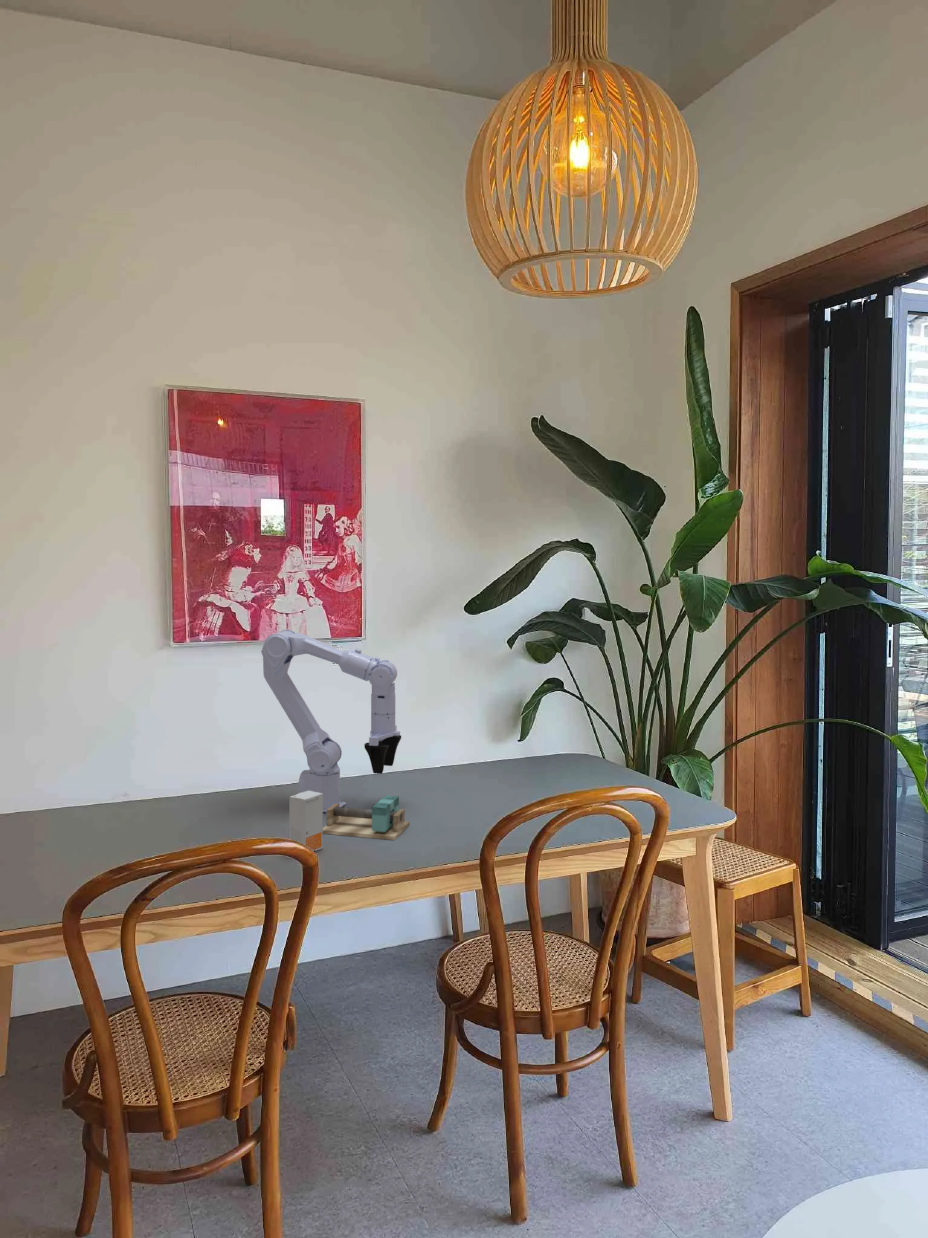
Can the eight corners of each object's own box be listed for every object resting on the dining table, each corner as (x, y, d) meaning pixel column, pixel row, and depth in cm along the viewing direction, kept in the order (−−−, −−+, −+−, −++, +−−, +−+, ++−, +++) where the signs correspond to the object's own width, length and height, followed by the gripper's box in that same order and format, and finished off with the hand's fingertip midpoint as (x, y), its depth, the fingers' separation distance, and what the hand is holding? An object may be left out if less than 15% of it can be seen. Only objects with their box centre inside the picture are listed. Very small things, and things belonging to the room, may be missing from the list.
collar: (372, 830, 212) (372, 807, 212) (386, 818, 221) (386, 795, 221) (385, 832, 211) (385, 808, 211) (398, 819, 221) (398, 796, 220)
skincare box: (304, 857, 199) (304, 799, 198) (288, 853, 201) (288, 796, 200) (323, 848, 204) (323, 793, 203) (308, 845, 206) (307, 789, 205)
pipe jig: (320, 833, 214) (320, 813, 214) (338, 819, 225) (338, 799, 224) (394, 840, 210) (394, 819, 210) (409, 825, 221) (409, 805, 220)
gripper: (389, 719, 222) (389, 778, 223) (408, 708, 236) (408, 763, 237) (360, 717, 224) (360, 776, 225) (380, 706, 238) (380, 761, 239)
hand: (383, 769), depth 231 cm, fingers open, 7 cm apart
